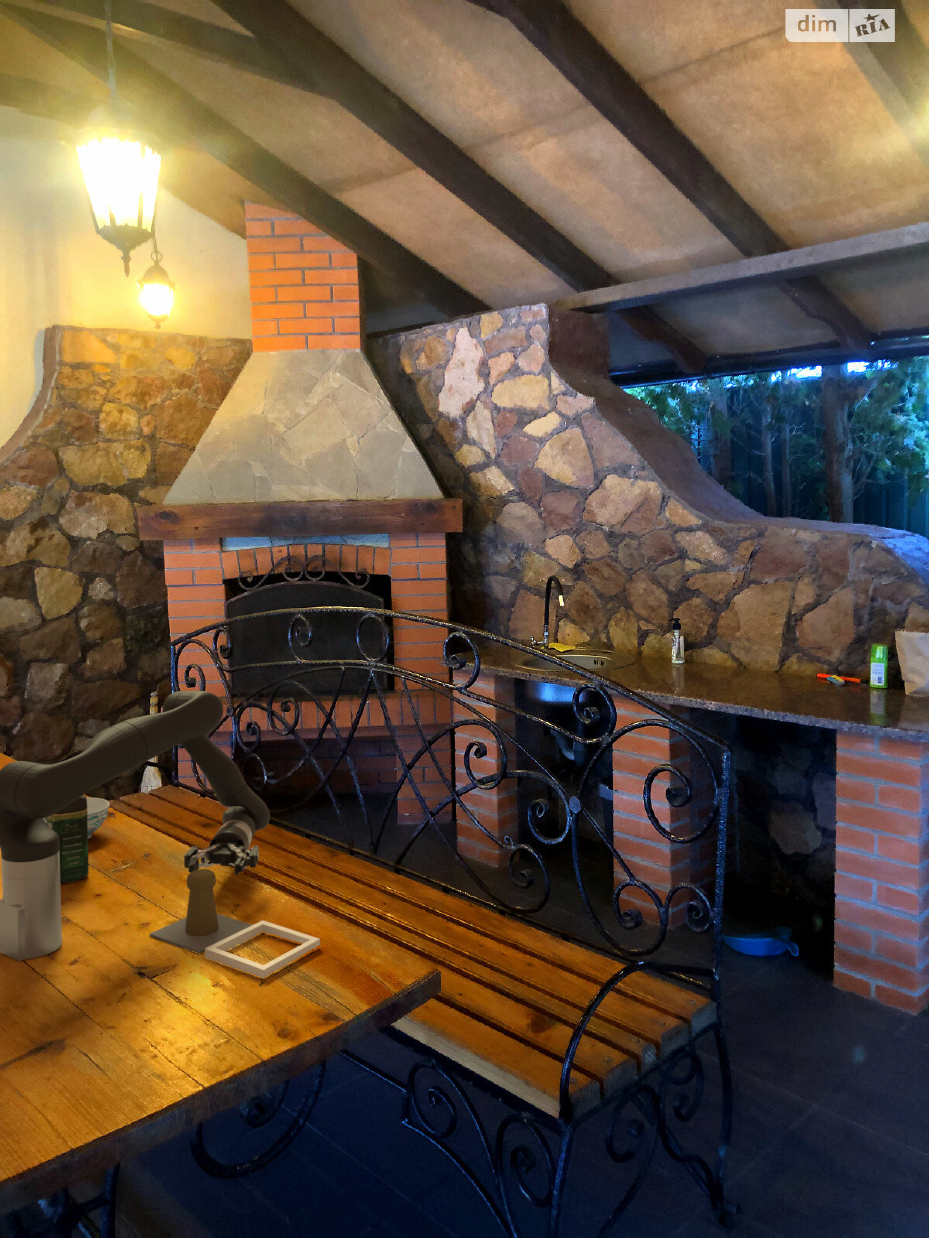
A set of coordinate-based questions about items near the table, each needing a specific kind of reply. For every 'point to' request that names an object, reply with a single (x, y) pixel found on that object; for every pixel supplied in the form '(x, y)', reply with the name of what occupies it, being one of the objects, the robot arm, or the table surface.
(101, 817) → the chinaware
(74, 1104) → the table surface
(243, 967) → the white square frame
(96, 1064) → the table surface
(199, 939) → the mat
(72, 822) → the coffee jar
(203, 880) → the cork
